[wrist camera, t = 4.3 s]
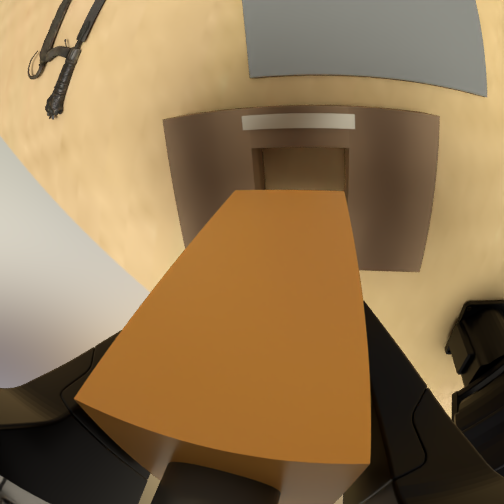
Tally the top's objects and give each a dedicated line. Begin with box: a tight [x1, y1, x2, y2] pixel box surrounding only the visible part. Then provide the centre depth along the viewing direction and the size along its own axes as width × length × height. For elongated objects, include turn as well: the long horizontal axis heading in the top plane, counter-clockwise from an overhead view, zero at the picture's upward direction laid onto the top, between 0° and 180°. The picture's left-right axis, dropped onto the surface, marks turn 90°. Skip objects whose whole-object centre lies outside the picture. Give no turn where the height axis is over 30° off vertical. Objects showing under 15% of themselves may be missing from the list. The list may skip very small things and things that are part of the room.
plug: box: [74, 190, 371, 504], centre depth 7 cm, size 4×4×10 cm
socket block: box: [163, 105, 439, 272], centre depth 17 cm, size 16×10×3 cm, turn 95°
